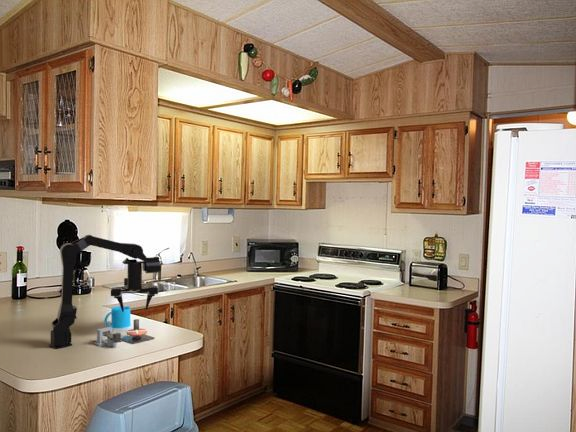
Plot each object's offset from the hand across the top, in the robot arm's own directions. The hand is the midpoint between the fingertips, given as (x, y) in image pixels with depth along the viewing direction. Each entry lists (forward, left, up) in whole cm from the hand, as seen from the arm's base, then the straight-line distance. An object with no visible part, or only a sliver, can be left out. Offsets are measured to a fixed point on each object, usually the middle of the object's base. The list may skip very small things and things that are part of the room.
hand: (134, 311), depth 204 cm
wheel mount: (-2, -4, -10) cm, 12 cm away
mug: (+4, +19, -11) cm, 22 cm away
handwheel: (-2, -4, -9) cm, 10 cm away
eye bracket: (-14, -2, -11) cm, 17 cm away
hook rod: (-13, -3, -8) cm, 16 cm away
